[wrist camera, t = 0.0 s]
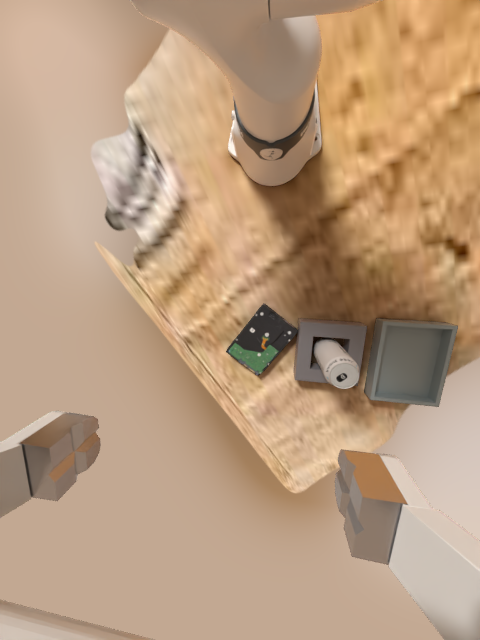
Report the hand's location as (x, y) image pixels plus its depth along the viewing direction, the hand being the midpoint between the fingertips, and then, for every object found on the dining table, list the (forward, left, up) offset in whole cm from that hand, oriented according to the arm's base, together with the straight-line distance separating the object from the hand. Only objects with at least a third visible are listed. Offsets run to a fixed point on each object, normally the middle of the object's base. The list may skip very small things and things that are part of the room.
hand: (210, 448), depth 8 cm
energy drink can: (+11, +15, -48) cm, 52 cm away
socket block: (+11, +15, -48) cm, 52 cm away
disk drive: (+10, 0, -49) cm, 50 cm away
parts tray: (+12, +32, -48) cm, 59 cm away
